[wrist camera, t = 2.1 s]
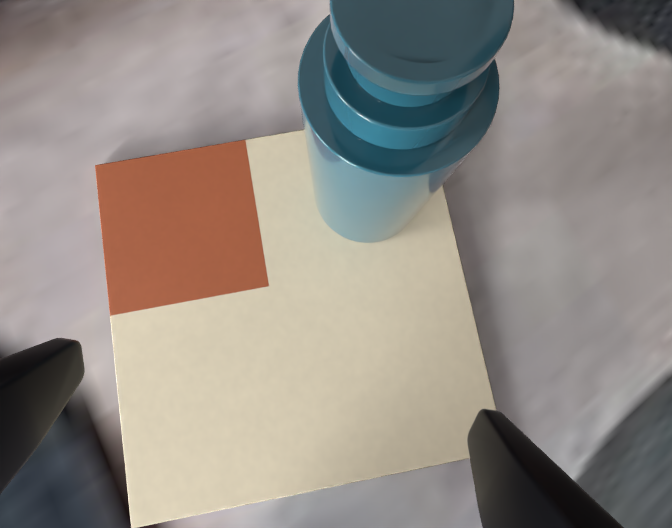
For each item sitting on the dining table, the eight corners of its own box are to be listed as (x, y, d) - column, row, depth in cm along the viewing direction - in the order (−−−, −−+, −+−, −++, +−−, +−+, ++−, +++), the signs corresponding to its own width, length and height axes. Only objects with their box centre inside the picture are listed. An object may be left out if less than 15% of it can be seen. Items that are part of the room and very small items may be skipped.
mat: (502, 448, 19) (506, 451, 19) (135, 524, 18) (131, 529, 18) (423, 112, 22) (424, 108, 21) (99, 167, 21) (94, 165, 21)
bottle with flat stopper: (429, 232, 20) (592, 100, 8) (324, 251, 20) (311, 148, 7) (407, 133, 21) (520, -136, 8) (305, 151, 21) (265, -98, 8)
